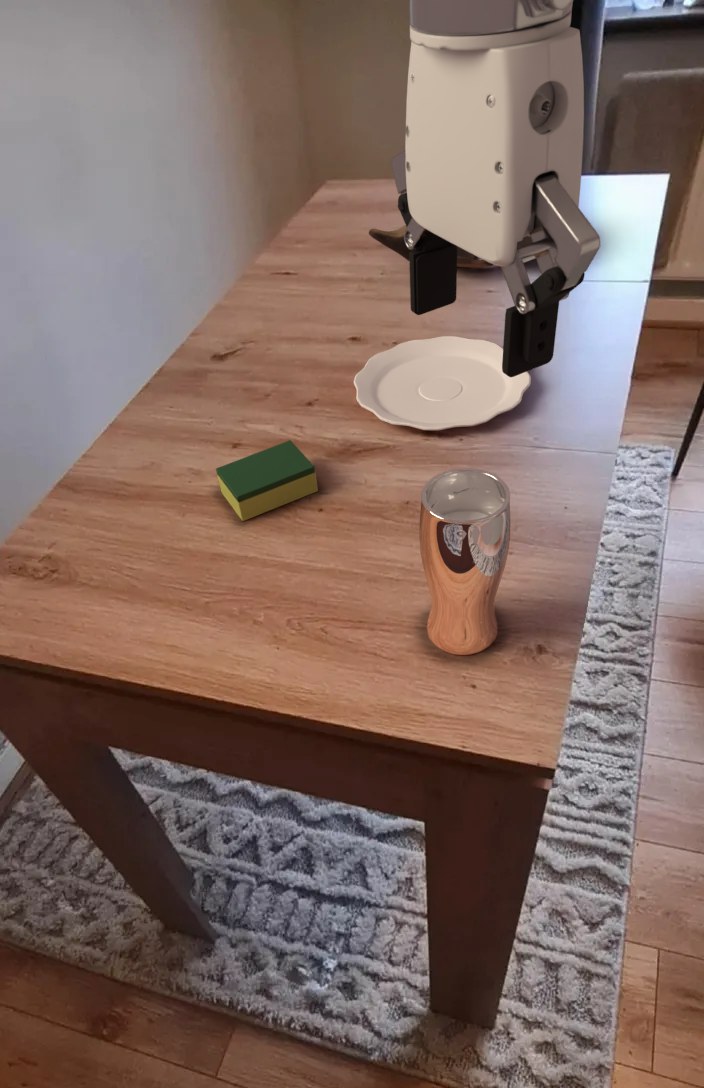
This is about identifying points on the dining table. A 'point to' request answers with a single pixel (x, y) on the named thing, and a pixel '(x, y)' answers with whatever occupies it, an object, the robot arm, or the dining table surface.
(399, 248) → the broken bowl
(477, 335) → the dining table surface
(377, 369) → the plate
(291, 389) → the dining table surface
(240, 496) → the sponge
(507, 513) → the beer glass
